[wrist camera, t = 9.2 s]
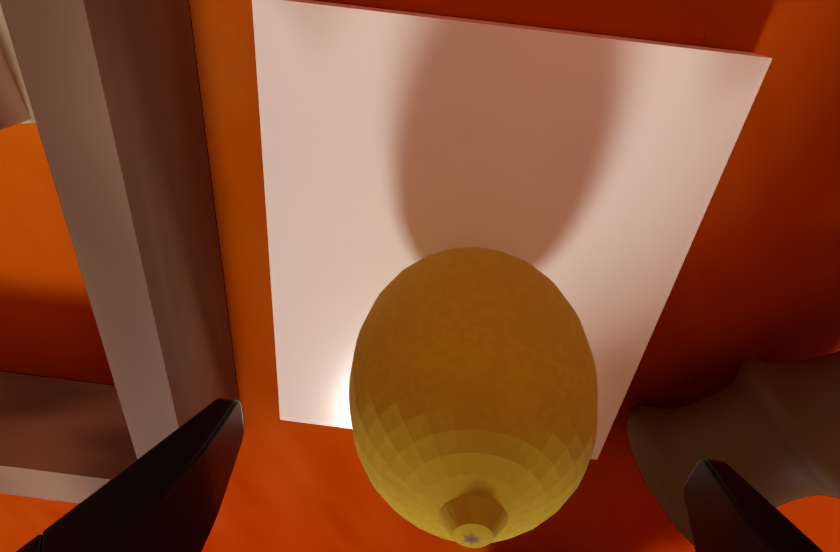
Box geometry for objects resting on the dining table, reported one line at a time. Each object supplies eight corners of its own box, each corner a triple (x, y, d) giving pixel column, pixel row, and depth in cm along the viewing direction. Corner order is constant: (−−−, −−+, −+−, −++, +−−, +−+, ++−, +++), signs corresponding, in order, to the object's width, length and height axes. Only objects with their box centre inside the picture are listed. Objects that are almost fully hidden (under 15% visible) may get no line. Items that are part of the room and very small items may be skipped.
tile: (750, 52, 12) (772, 58, 11) (591, 438, 20) (597, 459, 19) (265, -6, 12) (251, -4, 11) (288, 400, 20) (280, 419, 19)
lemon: (364, 207, 14) (269, 426, 7) (566, 192, 13) (674, 418, 7) (391, 358, 17) (341, 621, 10) (559, 352, 16) (630, 629, 9)
